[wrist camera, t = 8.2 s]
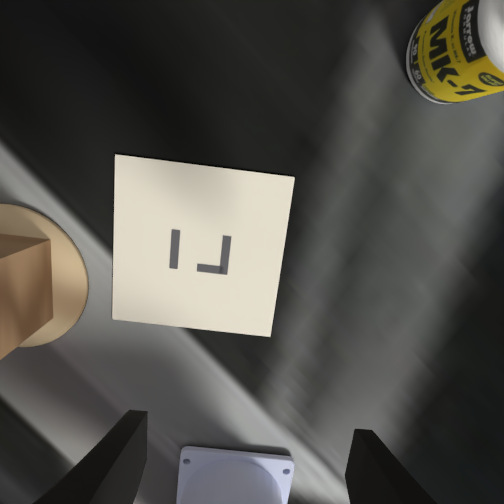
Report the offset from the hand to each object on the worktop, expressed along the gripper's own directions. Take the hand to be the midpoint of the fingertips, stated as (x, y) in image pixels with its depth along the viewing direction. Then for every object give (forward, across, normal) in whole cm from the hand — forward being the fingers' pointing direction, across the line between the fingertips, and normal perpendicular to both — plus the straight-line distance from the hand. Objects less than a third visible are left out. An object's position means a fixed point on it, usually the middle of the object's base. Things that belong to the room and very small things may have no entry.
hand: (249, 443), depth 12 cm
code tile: (+10, +4, -4) cm, 11 cm away
